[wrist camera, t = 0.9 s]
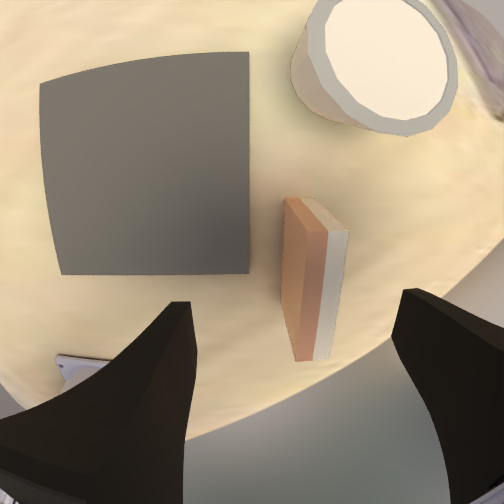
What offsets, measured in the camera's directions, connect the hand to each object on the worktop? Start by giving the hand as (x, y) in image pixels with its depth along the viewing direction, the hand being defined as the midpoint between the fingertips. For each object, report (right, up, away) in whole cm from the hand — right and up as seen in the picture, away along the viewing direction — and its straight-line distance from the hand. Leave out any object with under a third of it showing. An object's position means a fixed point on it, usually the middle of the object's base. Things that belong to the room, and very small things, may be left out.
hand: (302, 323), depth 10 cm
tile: (+1, +2, +10) cm, 10 cm away
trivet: (-8, +7, +7) cm, 13 cm away
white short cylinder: (+3, +12, +6) cm, 14 cm away
